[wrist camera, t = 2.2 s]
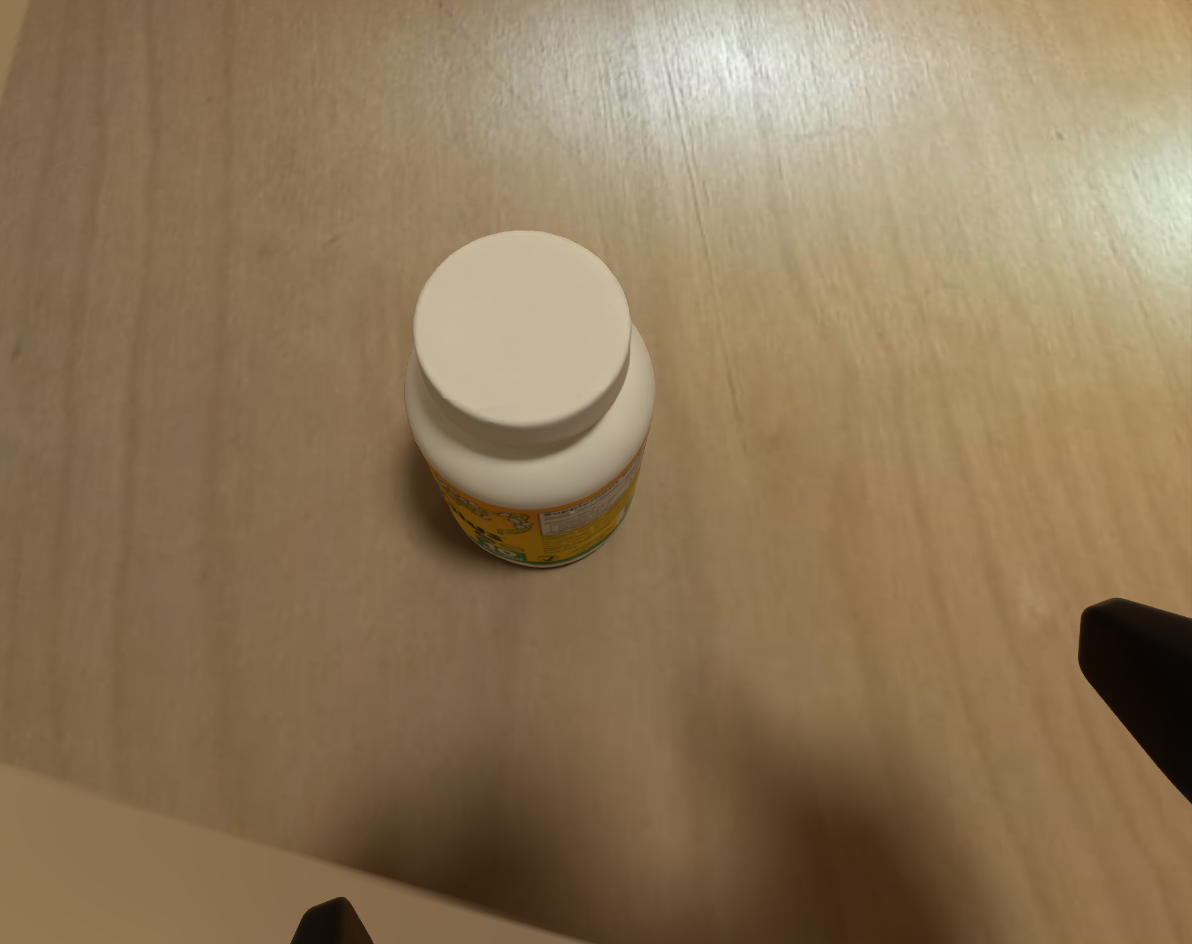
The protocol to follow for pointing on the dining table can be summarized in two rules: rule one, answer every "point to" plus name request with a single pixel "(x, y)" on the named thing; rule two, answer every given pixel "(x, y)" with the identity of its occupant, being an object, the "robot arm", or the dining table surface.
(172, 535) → the dining table surface
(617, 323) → the supplement bottle
